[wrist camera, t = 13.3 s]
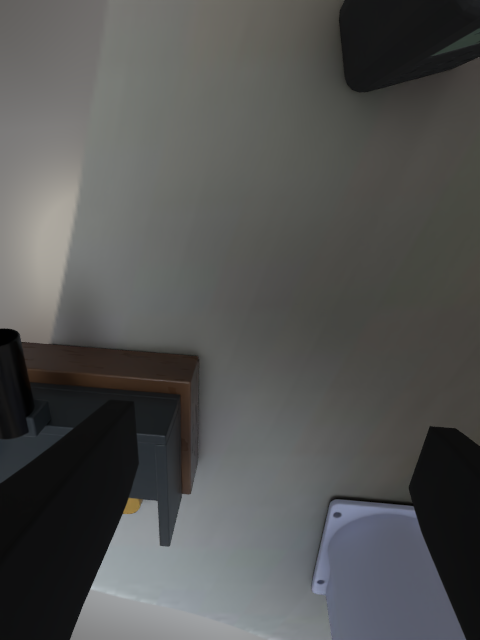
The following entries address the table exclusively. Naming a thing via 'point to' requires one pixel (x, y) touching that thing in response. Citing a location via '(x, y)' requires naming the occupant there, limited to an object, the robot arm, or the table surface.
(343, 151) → the table surface
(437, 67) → the walkie-talkie
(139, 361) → the stand
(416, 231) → the table surface
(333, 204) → the table surface
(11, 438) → the dark grey tray
